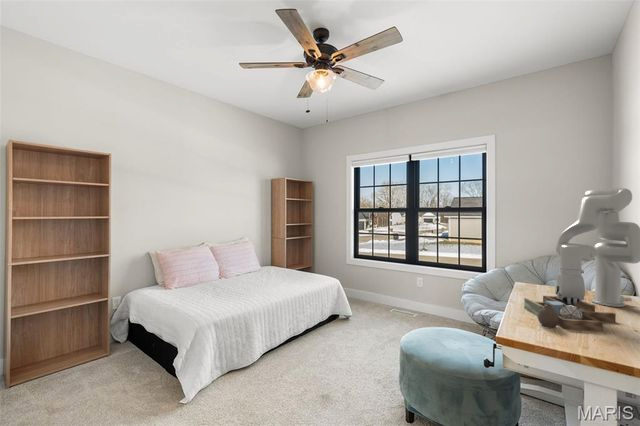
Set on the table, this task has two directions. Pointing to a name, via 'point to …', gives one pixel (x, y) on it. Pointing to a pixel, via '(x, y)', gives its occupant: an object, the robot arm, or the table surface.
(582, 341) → the table surface
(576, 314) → the game die
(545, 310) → the vase
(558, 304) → the slate block
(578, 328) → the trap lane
